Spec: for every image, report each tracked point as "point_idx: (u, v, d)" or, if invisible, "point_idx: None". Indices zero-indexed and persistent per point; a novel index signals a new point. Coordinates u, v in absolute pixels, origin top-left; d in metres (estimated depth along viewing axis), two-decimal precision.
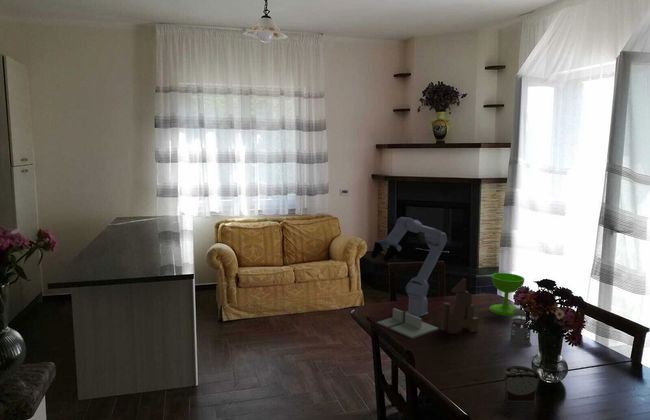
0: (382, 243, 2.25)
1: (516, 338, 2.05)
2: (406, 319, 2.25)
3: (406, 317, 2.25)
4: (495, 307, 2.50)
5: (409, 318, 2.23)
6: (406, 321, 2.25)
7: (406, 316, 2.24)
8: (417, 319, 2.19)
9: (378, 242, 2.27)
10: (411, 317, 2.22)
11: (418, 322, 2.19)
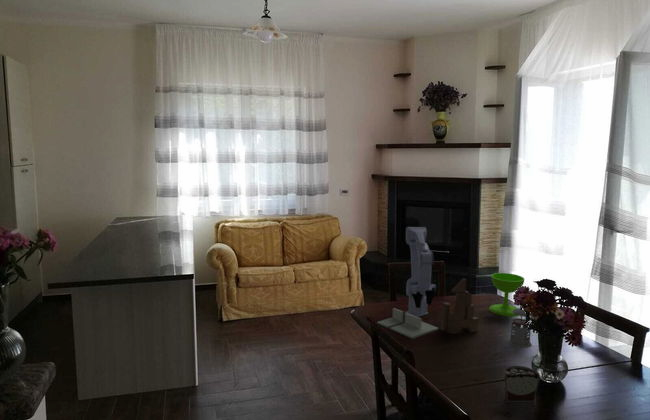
0: None
1: (516, 338, 2.05)
2: (406, 319, 2.25)
3: (406, 317, 2.25)
4: (495, 307, 2.50)
5: (409, 318, 2.23)
6: (406, 321, 2.25)
7: (406, 316, 2.24)
8: (417, 319, 2.19)
9: None
10: (411, 317, 2.22)
11: (418, 322, 2.19)
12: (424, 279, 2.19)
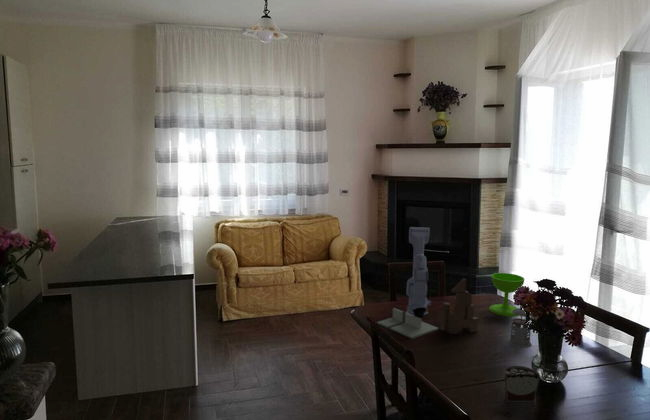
0: None
1: (516, 338, 2.05)
2: (406, 319, 2.25)
3: (406, 317, 2.25)
4: (495, 307, 2.50)
5: (409, 318, 2.23)
6: (406, 321, 2.25)
7: (406, 316, 2.24)
8: (417, 319, 2.19)
9: None
10: (411, 317, 2.22)
11: (418, 322, 2.19)
12: (419, 296, 2.18)
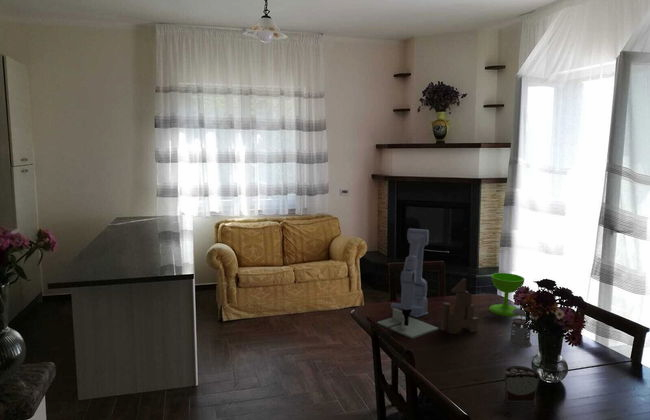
0: None
1: (516, 338, 2.05)
2: None
3: None
4: (495, 307, 2.50)
5: None
6: None
7: None
8: None
9: (393, 306, 2.20)
10: (402, 317, 2.22)
11: None
12: (402, 296, 2.17)
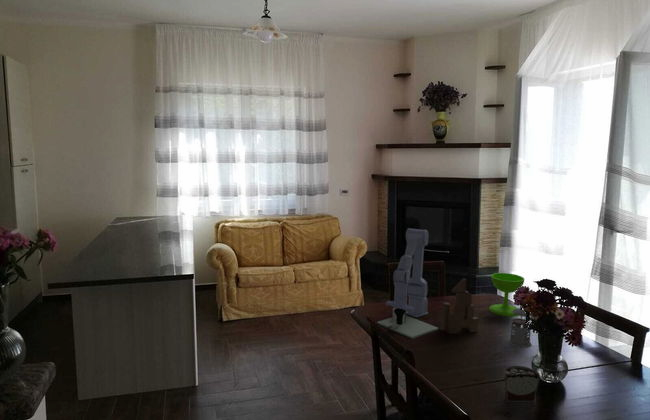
0: None
1: (516, 338, 2.05)
2: None
3: None
4: (495, 307, 2.50)
5: None
6: None
7: None
8: None
9: (388, 303, 2.23)
10: None
11: None
12: (394, 295, 2.19)
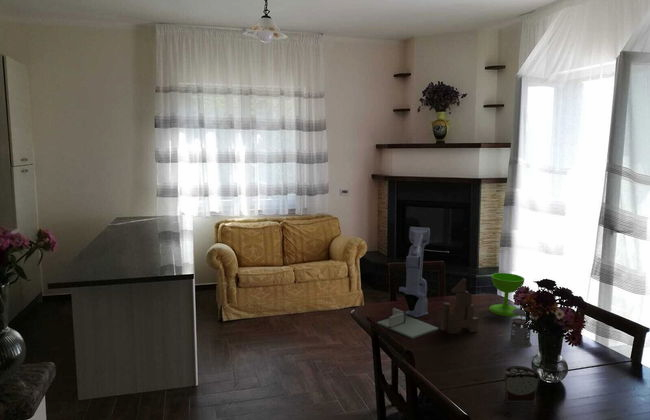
0: None
1: (516, 338, 2.05)
2: None
3: None
4: (495, 307, 2.50)
5: None
6: None
7: None
8: None
9: (401, 289, 2.22)
10: None
11: None
12: (406, 281, 2.17)
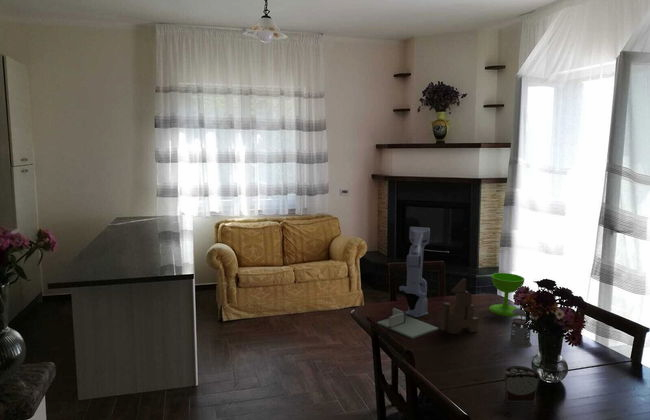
0: None
1: (516, 338, 2.05)
2: None
3: None
4: (495, 307, 2.50)
5: None
6: None
7: None
8: None
9: (401, 288, 2.22)
10: None
11: None
12: None
